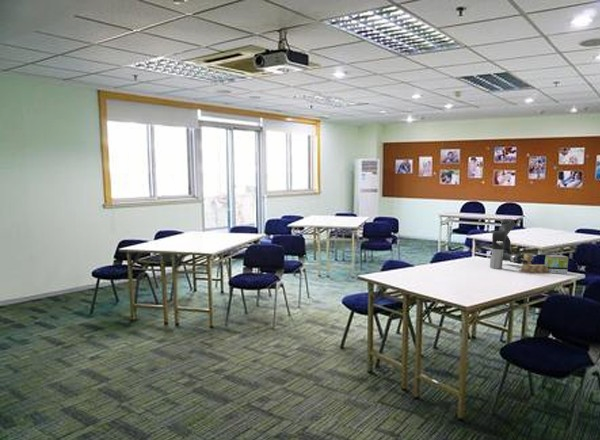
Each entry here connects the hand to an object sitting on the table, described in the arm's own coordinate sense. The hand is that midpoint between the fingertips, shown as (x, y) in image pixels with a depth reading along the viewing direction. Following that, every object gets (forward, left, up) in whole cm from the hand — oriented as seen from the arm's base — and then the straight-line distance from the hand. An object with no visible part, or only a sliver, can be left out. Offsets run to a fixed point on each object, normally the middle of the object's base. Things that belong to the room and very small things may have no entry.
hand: (529, 261), depth 402 cm
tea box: (+19, -9, -8) cm, 22 cm away
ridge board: (0, -8, -8) cm, 11 cm away
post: (0, +3, -8) cm, 8 cm away
